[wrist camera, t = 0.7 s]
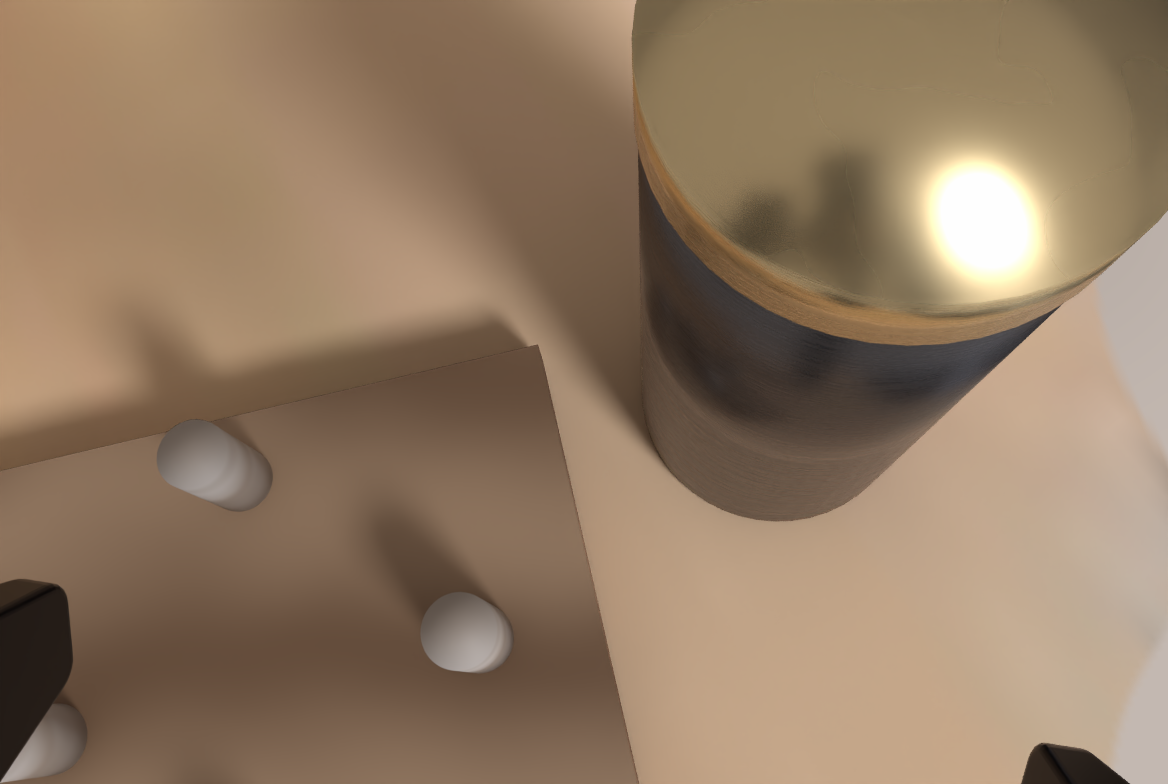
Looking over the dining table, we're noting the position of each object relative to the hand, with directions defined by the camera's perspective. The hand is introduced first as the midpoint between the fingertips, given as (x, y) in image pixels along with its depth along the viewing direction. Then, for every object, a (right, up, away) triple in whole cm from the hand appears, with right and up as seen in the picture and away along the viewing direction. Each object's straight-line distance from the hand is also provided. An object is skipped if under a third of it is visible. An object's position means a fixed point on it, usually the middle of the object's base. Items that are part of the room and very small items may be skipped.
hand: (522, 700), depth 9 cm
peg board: (-6, -4, +13) cm, 14 cm away
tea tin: (+5, +3, +14) cm, 15 cm away
